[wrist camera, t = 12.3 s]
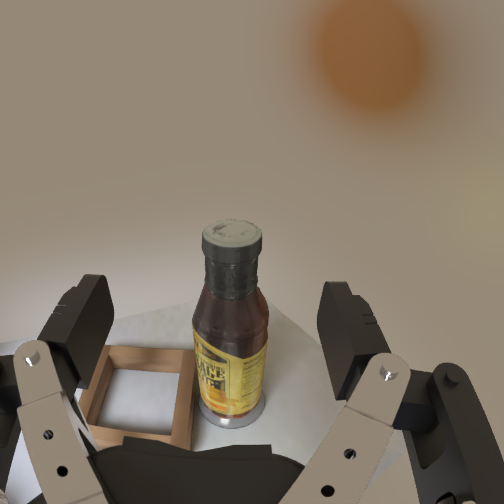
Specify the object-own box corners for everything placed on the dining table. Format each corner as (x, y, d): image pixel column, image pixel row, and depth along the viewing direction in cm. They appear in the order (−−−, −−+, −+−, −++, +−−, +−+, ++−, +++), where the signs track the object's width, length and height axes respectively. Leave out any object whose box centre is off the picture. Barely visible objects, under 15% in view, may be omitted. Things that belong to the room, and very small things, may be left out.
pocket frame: (77, 444, 25) (68, 432, 24) (106, 358, 36) (100, 344, 35) (189, 460, 25) (185, 450, 24) (198, 364, 37) (196, 350, 35)
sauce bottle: (193, 387, 33) (170, 218, 23) (244, 370, 35) (247, 204, 26) (217, 434, 28) (200, 260, 18) (272, 411, 30) (293, 238, 21)
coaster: (197, 427, 29) (196, 425, 29) (201, 377, 35) (200, 373, 35) (266, 428, 29) (266, 425, 29) (262, 377, 35) (262, 374, 35)
